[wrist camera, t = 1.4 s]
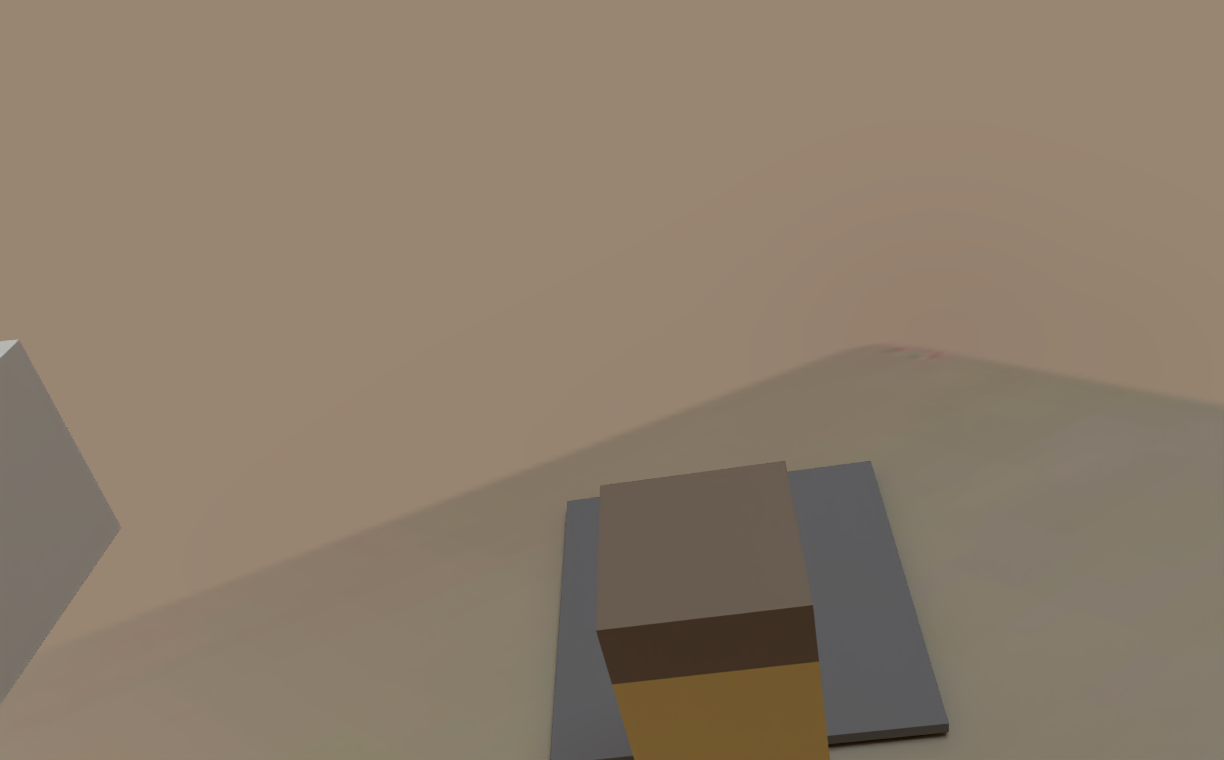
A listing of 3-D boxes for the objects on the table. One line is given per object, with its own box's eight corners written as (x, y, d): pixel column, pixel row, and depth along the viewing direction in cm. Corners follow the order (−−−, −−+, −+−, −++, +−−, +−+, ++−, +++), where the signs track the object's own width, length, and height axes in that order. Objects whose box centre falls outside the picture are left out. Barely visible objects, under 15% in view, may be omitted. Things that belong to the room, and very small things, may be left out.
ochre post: (820, 766, 35) (785, 460, 27) (846, 913, 31) (812, 604, 23) (677, 780, 36) (600, 485, 28) (683, 926, 32) (596, 630, 24)
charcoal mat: (871, 469, 46) (870, 460, 46) (948, 732, 35) (948, 723, 35) (569, 508, 48) (567, 501, 48) (552, 772, 37) (549, 764, 37)
